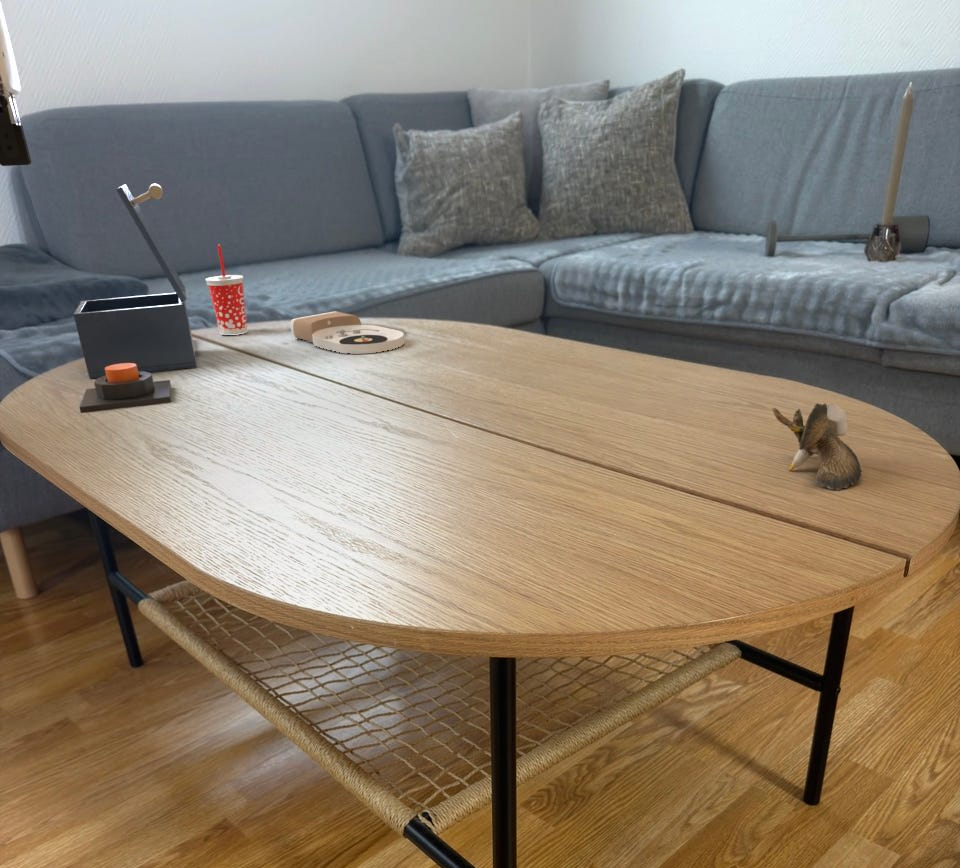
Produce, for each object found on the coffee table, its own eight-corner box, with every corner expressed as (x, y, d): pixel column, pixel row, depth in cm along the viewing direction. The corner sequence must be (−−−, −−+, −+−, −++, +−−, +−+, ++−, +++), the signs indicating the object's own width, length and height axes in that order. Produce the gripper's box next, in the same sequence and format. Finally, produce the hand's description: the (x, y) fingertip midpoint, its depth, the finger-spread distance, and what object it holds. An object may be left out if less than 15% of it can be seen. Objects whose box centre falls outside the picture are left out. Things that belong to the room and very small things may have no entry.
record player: (344, 309, 145) (418, 324, 132) (346, 328, 147) (419, 345, 133) (283, 320, 139) (354, 337, 125) (285, 340, 140) (356, 359, 127)
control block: (84, 425, 101) (75, 391, 99) (90, 406, 109) (82, 374, 107) (173, 414, 103) (166, 381, 101) (173, 397, 111) (166, 365, 109)
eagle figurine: (746, 446, 81) (779, 460, 72) (792, 378, 79) (831, 383, 70) (811, 487, 82) (852, 505, 73) (858, 421, 80) (905, 432, 72)
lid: (115, 189, 113) (151, 172, 113) (120, 186, 124) (153, 170, 124) (181, 302, 121) (214, 285, 122) (180, 290, 132) (210, 275, 132)
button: (107, 386, 102) (103, 371, 101) (109, 379, 105) (105, 365, 105) (139, 382, 103) (135, 367, 102) (140, 376, 106) (136, 361, 105)
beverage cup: (237, 337, 144) (222, 247, 138) (207, 336, 146) (191, 247, 140) (259, 330, 149) (245, 242, 143) (230, 329, 151) (215, 242, 145)
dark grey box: (89, 379, 122) (73, 314, 118) (96, 360, 133) (81, 300, 128) (196, 367, 126) (184, 304, 121) (194, 350, 136) (183, 292, 132)
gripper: (-59, -18, 97) (-8, 166, 105) (-93, -44, 84) (-33, 168, 93) (14, -18, 99) (58, 163, 107) (-9, -43, 86) (43, 164, 95)
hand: (16, 164), depth 100 cm, fingers closed
